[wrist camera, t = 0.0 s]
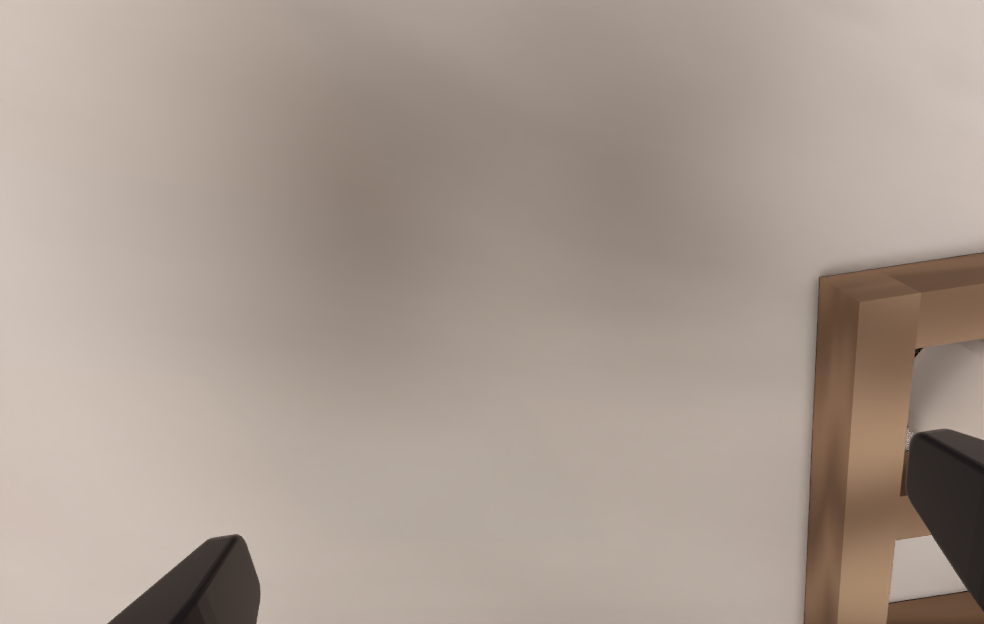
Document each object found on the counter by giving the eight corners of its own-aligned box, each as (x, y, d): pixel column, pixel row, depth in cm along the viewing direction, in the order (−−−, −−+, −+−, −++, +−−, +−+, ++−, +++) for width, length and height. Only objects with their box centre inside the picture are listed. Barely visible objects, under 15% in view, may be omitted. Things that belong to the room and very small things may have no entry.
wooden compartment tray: (1020, 616, 31) (1067, 663, 28) (803, 649, 30) (831, 699, 28) (1097, 235, 24) (1166, 255, 22) (819, 277, 24) (859, 301, 22)
